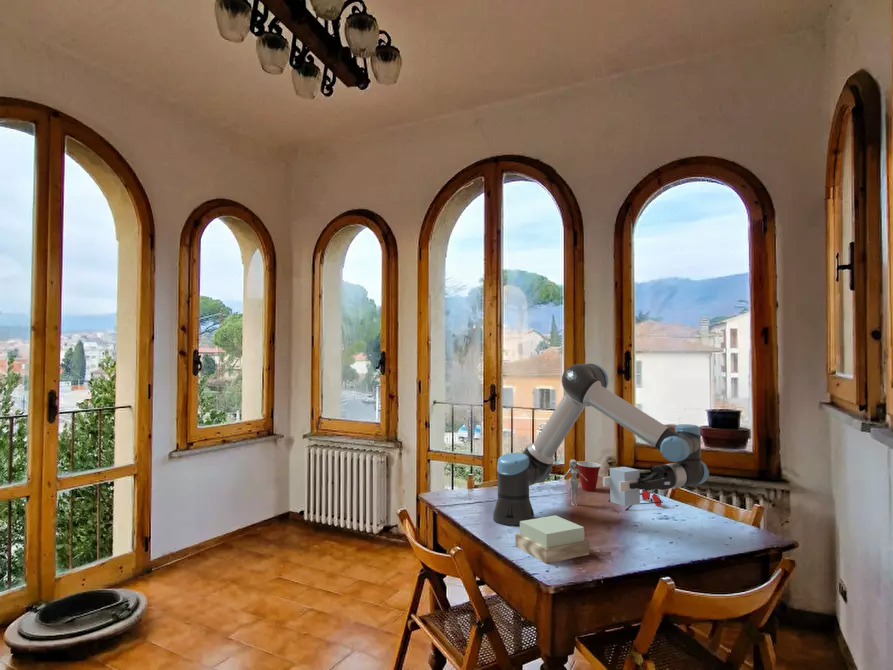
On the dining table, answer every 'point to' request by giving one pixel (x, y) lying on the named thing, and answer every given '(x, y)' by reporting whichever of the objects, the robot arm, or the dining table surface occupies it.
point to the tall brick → (625, 496)
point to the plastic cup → (588, 474)
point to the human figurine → (573, 480)
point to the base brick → (552, 549)
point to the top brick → (551, 531)
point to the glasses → (646, 496)
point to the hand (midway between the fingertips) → (611, 484)
